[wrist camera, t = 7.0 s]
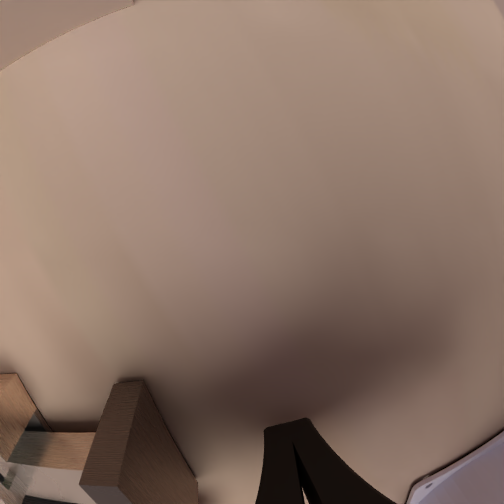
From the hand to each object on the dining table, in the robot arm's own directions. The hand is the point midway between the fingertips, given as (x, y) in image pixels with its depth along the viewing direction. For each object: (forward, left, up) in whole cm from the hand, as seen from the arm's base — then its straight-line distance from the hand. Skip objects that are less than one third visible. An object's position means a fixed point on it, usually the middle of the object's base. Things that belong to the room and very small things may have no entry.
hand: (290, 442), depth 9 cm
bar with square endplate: (+7, 0, -1) cm, 7 cm away
